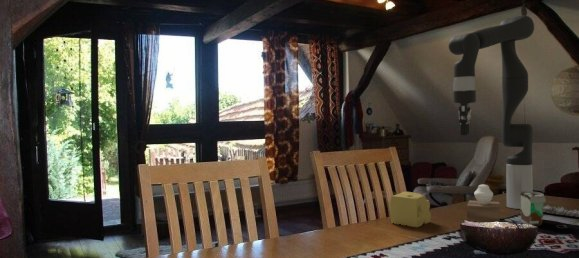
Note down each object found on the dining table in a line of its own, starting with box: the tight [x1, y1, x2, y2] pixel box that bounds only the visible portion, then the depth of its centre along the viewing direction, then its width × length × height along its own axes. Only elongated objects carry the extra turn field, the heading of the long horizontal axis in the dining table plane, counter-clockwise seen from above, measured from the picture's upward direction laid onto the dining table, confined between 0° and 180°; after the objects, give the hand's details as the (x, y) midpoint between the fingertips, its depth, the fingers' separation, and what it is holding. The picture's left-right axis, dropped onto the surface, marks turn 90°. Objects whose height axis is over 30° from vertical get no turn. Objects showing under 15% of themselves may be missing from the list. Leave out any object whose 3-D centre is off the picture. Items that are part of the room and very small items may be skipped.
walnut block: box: [466, 200, 501, 222], centre depth 154 cm, size 10×10×6 cm
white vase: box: [473, 183, 494, 205], centre depth 154 cm, size 6×6×7 cm
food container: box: [520, 191, 547, 227], centre depth 150 cm, size 12×6×10 cm, turn 168°
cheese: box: [390, 191, 432, 228], centre depth 153 cm, size 10×11×10 cm
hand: (465, 134), depth 159 cm, fingers open, 8 cm apart
